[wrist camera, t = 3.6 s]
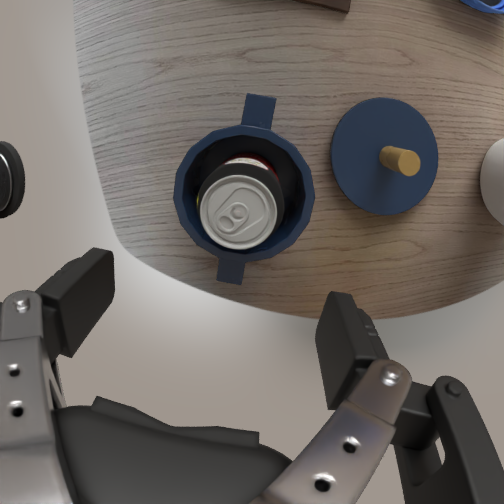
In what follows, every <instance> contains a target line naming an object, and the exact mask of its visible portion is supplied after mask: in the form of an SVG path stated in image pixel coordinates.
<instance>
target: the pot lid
mask: <svg viewBox="0 0 504 504" xmlns="http://www.w3.org/2000/svg"><path fill="white" fill-rule="evenodd" d="M330 159H331V166H332V171H333V174H334V177H335V179H336V181H337V183H338V185H339V187H340V189H341V190H342V192H343V193H344V194H345V195H346V196H347V197H348V199H349V200H351V201H352V202H353V203H354V204H355V205H357V206H358V207H360V208H361V209H363V210H366V211H368V212H371V213H374V214H379V215H393V214H398V213H402V212H404V211H407V210H409V209H410V208H412V207H414V206H415V205H416V204H418V203H419V202H420V201H421V200H422V199H423V198H424V197H425V195H426V194H427V193H428V191H429V190H430V188H431V186H432V184H433V182H434V180H435V176H436V173H437V168H438V148H437V143H436V140H435V136H434V134H433V132H432V129H431V128H430V126H429V124H428V123H427V121H426V120H425V118H424V117H423V116H422V115H421V114H420V113H419V112H418V111H417V110H415V109H414V108H413V107H411V106H410V105H408V104H406V103H404V102H402V101H400V100H396V99H392V98H374V99H369V100H366V101H363V102H361V103H359V104H357V105H355V106H354V107H353V108H351V109H350V110H349V111H348V112H347V113H346V114H345V115H344V116H343V117H342V119H341V120H340V122H339V123H338V125H337V127H336V129H335V131H334V134H333V138H332V142H331V148H330Z"/></svg>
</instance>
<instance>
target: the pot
mask: <svg viewBox="0 0 504 504" xmlns="http://www.w3.org/2000/svg"><path fill="white" fill-rule="evenodd" d="M275 103H276V98H273V97H268V96H262V95H256V94H250V93H247V95H246V100H245V106H244V111H243V116H242V122H241V125H237V126H232V127H228V128H224V129H220V130H216V131H213V132H211V133H210V134H208V135H207V136H206V137H204V138H203V139H202V140H200V141H199V142H198V143H196V144H195V145H194V146H192V147H191V148H190V149H189V151H188V152H187V154H186V156H185V158H184V159H183V161H182V163H181V165H180V166H179V168H178V170H177V173H176V178H175V187H174V196H173V200H174V204H175V207H176V210H177V214H178V217H179V221H180V224H181V225H182V227H183V228H184V229H185V230H186V232H187V233H188V234H189V236H190V237H191V238H192V239H193V241H194V242H195V243H196V244H197V245H198V246H200V247H201V248H203V249H205V250H206V251H208V252H210V253H211V254H213V255H215V256H217V257H218V258H219V265H218V272H217V279H216V280H217V281H221V282H226V283H232V284H237V285H241V284H242V279H243V274H244V268H245V263H246V262H252V261H257V260H262V259H268V258H271V257H273V256H275V255H276V254H278V253H280V252H281V251H283V250H285V249H286V248H288V247H289V246H291V245H293V243H294V242H295V241H296V240H297V238H298V237H299V236H300V234H301V233H302V232H303V230H304V229H305V227H306V226H307V225H308V223H309V221H310V217H311V213H312V208H313V204H314V200H315V192H314V186H313V181H312V175H311V170H310V168H309V166H308V165H307V163H306V162H305V160H304V159H303V157H302V156H301V154H300V153H299V151H298V150H297V148H296V147H295V146H294V145H293V144H292V143H290V142H289V141H287V140H286V139H284V138H283V137H281V136H279V135H278V134H276V133H275V132H273V131H272V130H271V124H272V119H273V114H274V109H275ZM240 153H254V154H257V155H260V156H262V157H264V158H265V159H267V160H268V161H269V162H270V163H271V164H272V166H273V167H274V169H275V170H276V173H277V176H278V179H279V183H280V187H281V190H282V194H283V198H284V214H283V218H282V221H281V223H280V225H279V227H278V228H277V230H276V231H275V232H274V233H273V234H272V235H271V236H270V237H269V238H268V239H267V240H265V241H264V242H262V243H260V244H258V245H256V246H254V247H251V248H248V249H231V248H227V247H224V246H222V245H220V244H218V243H217V242H215V241H214V240H213V239H212V238H211V237H210V236H209V235H208V234H207V232H206V231H205V229H204V227H203V226H202V224H201V222H200V219H199V216H198V211H197V198H198V193H199V190H200V188H201V186H202V184H203V182H204V181H205V180H206V178H207V177H208V176H209V175H210V174H211V173H212V172H213V171H215V170H216V169H217V168H218V167H219V166H220V165H221V164H222V163H223V162H225V161H226V160H227V159H228V158H230V157H232V156H234V155H236V154H240Z"/></svg>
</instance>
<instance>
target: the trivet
mask: <svg viewBox="0 0 504 504" xmlns="http://www.w3.org/2000/svg"><path fill="white" fill-rule="evenodd" d="M292 1H297V2H302V3H307V4H311V5H316V6H320V7H324V8H328V9H331V10H335V11H339V12H342V13H346V14H348V12H349V9H350V2H351V0H292Z"/></svg>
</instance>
